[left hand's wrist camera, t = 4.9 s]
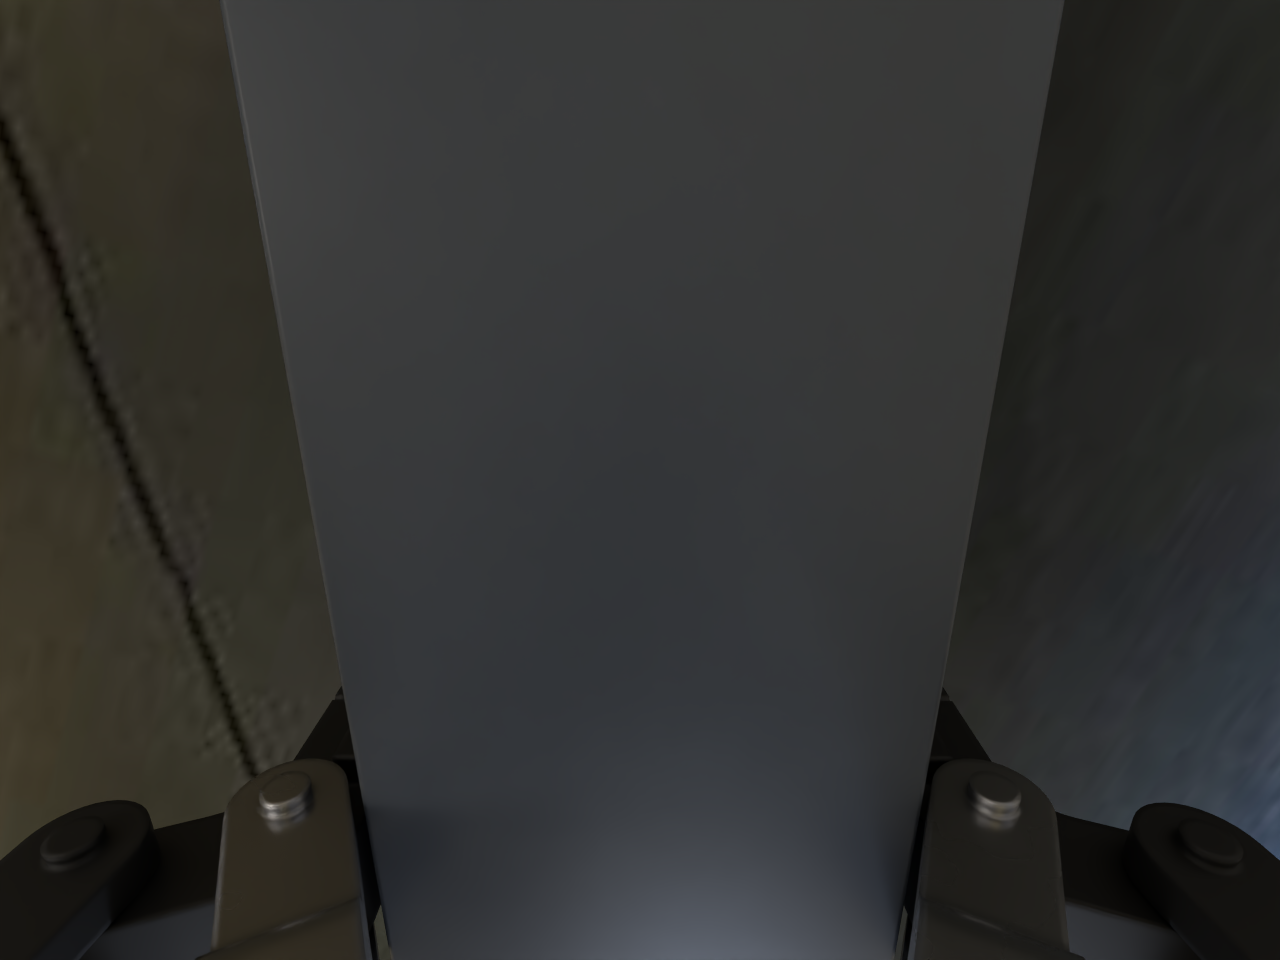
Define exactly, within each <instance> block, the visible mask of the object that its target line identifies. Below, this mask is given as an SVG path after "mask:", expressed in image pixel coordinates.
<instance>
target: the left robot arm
mask: <svg viewBox="0 0 1280 960" xmlns="http://www.w3.org/2000/svg"><path fill="white" fill-rule="evenodd" d="M380 905H381V901H380V895H379V890H378V884H377V878H376V873H375V867H374V862H373V856H372V851H371V845H370V839H369V834H368V828H367V823H366V817H365V811H364V806H363V800H362V795H361V789H360V783H359V778H358V772H357V767H356V761H355V756H354V750H353V744H352V739H351V733H350V728H349V722H348V716H347V711H346V705H345V700H344V694H343V689H342V686H341V688H340V689H339V691H338V692H337V694H336V697H335V700H332V702H331V703H330V705H329V706H328V708H327V709H326V711H325V713H324V714H323V716H322V717H321V719H320V720H319V722H318V723H317V725H316V726H315V728H314V730H313V731H312V733H311V734H310V736H309V737H308V739H307V740H306V742H305V743H304V745H303V747H302V748H301V750H300V751H299V753H298V754H297V756H296V757H295V759H294V760H293V761H290V762H286V763H283V764H280V765H277V766H275V767H273V768H271V769H268V770H266V771H264V772H263V773H261V774H259V775H257V776H256V777H254V778H253V779H252V780H250V781H249V782H247V783H246V784H245V785H244V786H243V787H242V788H240V790H239V791H238V792H237V793H236V794H235V795H234V796H233V798H232V799H231V801H230V802H229V803H228V806H227V808H226V810H225V812H223V813H220V814H216V815H213V816H209V817H205V818H201V819H196V820H192V821H188V822H184V823H180V824H176V825H172V826H167V827H163V828H159V829H155V830H154V828H153V825H152V822H151V819H150V816H149V813H148V812H147V810H146V809H145V808H144V807H143V806H142V805H140V804H138V803H136V802H132V801H126V800H114V801H105V802H100V803H95V804H92V805H88V806H85V807H82V808H79V809H77V810H74V811H71V812H69V813H67V814H65V815H63V816H61V817H58V818H57V819H55V820H53V821H51V822H50V823H48V824H46V825H44V826H43V827H41V828H40V829H38V830H37V831H35V832H34V833H33V834H31V835H30V836H29V837H28V838H26V839H25V840H24V841H23V842H21V843H20V844H19V845H18V846H17V847H16V848H14V849H13V850H12V851H11V852H10V853H9V854H7V855H6V856H5V857H4V858H3V859H2V860H0V960H379V952H378V945H377V937H376V931H375V926H374V920H375V918H376V915H377V913H378V910H379V907H380ZM904 906H905V909H906V911H907V914H908V915H907V920H906V926H905V931H904V937H903V945H902V952H901V960H1280V860H1278V859H1277V858H1276V857H1275V856H1274V855H1273V854H1271V853H1270V852H1269V851H1268V850H1267V849H1266V848H1264V847H1263V846H1262V845H1261V844H1260V843H1259V842H1257V841H1256V840H1255V839H1253V838H1252V837H1251V836H1250V835H1248V834H1247V833H1245V832H1244V831H1242V830H1241V829H1239V828H1238V827H1236V826H1234V825H1232V824H1231V823H1229V822H1227V821H1225V820H1223V819H1221V818H1219V817H1217V816H1215V815H1213V814H1210V813H1208V812H1205V811H1202V810H1200V809H1196V808H1193V807H1189V806H1186V805H1180V804H1175V803H1153V804H1148V805H1146V806H1143V807H1141V808H1140V809H1139V810H1138V811H1137V812H1136V813H1135V815H1134V817H1133V820H1132V823H1131V826H1130V829H1129V831H1128V830H1124V829H1119V828H1115V827H1111V826H1107V825H1103V824H1099V823H1094V822H1090V821H1086V820H1082V819H1078V818H1074V817H1070V816H1067V815H1064V814H1061V813H1058V812H1055V810H1054V808H1053V806H1052V803H1051V802H1050V801H1049V799H1048V798H1047V796H1046V795H1045V794H1044V793H1043V792H1042V791H1041V790H1040V789H1039V788H1038V787H1037V786H1036V785H1035V784H1034V783H1033V782H1031V781H1030V780H1028V779H1027V778H1026V777H1024V776H1023V775H1021V774H1019V773H1017V772H1016V771H1014V770H1012V769H1009V768H1007V767H1005V766H1003V765H1000V764H997V763H994V762H991V760H990V758H989V757H988V755H987V754H986V752H985V751H984V749H983V748H982V746H981V745H980V743H979V742H978V740H977V739H976V737H975V736H974V734H973V732H972V731H971V729H970V728H969V726H968V725H967V723H966V722H965V720H964V719H963V717H962V716H961V714H960V713H959V711H958V710H957V708H956V706H955V705H954V703H953V702H952V701H949V696H948V694H947V693H946V691H945V690H944V688H943V687H942V692H941V698H940V704H939V709H938V715H937V721H936V726H935V732H934V737H933V743H932V749H931V754H930V760H929V766H928V771H927V777H926V782H925V788H924V794H923V799H922V805H921V810H920V816H919V822H918V827H917V833H916V839H915V844H914V850H913V855H912V861H911V867H910V872H909V878H908V883H907V889H906V895H905V900H904Z"/></svg>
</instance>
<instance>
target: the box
mask: <svg viewBox="0 0 1280 960" xmlns="http://www.w3.org/2000/svg"><path fill="white" fill-rule="evenodd" d="M219 1H220V7H221V12H222V18H223V24H224V29H225V35H226V40H227V46H228V52H229V57H230V63H231V68H232V74H233V80H234V85H235V91H236V96H237V102H238V107H239V113H240V119H241V124H242V130H243V135H244V141H245V147H246V152H247V158H248V163H249V169H250V174H251V180H252V186H253V191H254V197H255V202H256V208H257V214H258V219H259V225H260V230H261V236H262V242H263V247H264V253H265V258H266V264H267V269H268V275H269V281H270V286H271V292H272V297H273V303H274V309H275V314H276V320H277V325H278V331H279V337H280V342H281V348H282V353H283V359H284V364H285V370H286V376H287V381H288V387H289V392H290V398H291V404H292V409H293V415H294V420H295V426H296V431H297V437H298V443H299V448H300V454H301V459H302V465H303V471H304V476H305V482H306V487H307V493H308V499H309V504H310V510H311V515H312V521H313V526H314V532H315V538H316V543H317V549H318V554H319V560H320V566H321V571H322V577H323V582H324V588H325V594H326V599H327V605H328V610H329V616H330V621H331V627H332V633H333V638H334V644H335V649H336V655H337V661H338V666H339V672H340V677H341V683H342V689H343V694H344V700H345V705H346V711H347V716H348V722H349V728H350V733H351V739H352V744H353V750H354V756H355V761H356V767H357V772H358V778H359V783H360V789H361V795H362V800H363V806H364V811H365V817H366V823H367V828H368V834H369V839H370V845H371V851H372V856H373V862H374V867H375V873H376V878H377V884H378V890H379V895H380V901H381V906H382V912H383V918H384V923H385V929H386V934H387V940H388V946H389V951H390V957H391V960H894V957H895V951H896V945H897V940H898V934H899V928H900V923H901V917H902V912H903V906H904V900H905V895H906V889H907V883H908V878H909V872H910V867H911V861H912V855H913V850H914V844H915V839H916V833H917V827H918V822H919V816H920V810H921V805H922V799H923V794H924V788H925V782H926V777H927V771H928V766H929V760H930V754H931V749H932V743H933V737H934V732H935V726H936V721H937V715H938V709H939V704H940V698H941V692H942V687H943V681H944V676H945V670H946V664H947V659H948V653H949V648H950V642H951V636H952V631H953V625H954V619H955V614H956V608H957V603H958V597H959V591H960V586H961V580H962V574H963V569H964V563H965V558H966V552H967V546H968V541H969V535H970V530H971V524H972V518H973V513H974V507H975V501H976V496H977V490H978V485H979V479H980V473H981V468H982V462H983V457H984V451H985V445H986V440H987V434H988V428H989V423H990V417H991V412H992V406H993V400H994V395H995V389H996V383H997V378H998V372H999V367H1000V361H1001V355H1002V350H1003V344H1004V339H1005V333H1006V327H1007V322H1008V316H1009V310H1010V305H1011V299H1012V294H1013V288H1014V282H1015V277H1016V271H1017V266H1018V260H1019V254H1020V249H1021V243H1022V237H1023V232H1024V226H1025V221H1026V215H1027V209H1028V204H1029V198H1030V192H1031V187H1032V181H1033V176H1034V170H1035V164H1036V159H1037V153H1038V148H1039V142H1040V136H1041V131H1042V125H1043V119H1044V114H1045V108H1046V103H1047V97H1048V91H1049V86H1050V80H1051V75H1052V69H1053V63H1054V58H1055V52H1056V46H1057V41H1058V35H1059V30H1060V24H1061V18H1062V13H1063V7H1064V1H1065V0H219Z"/></svg>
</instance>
